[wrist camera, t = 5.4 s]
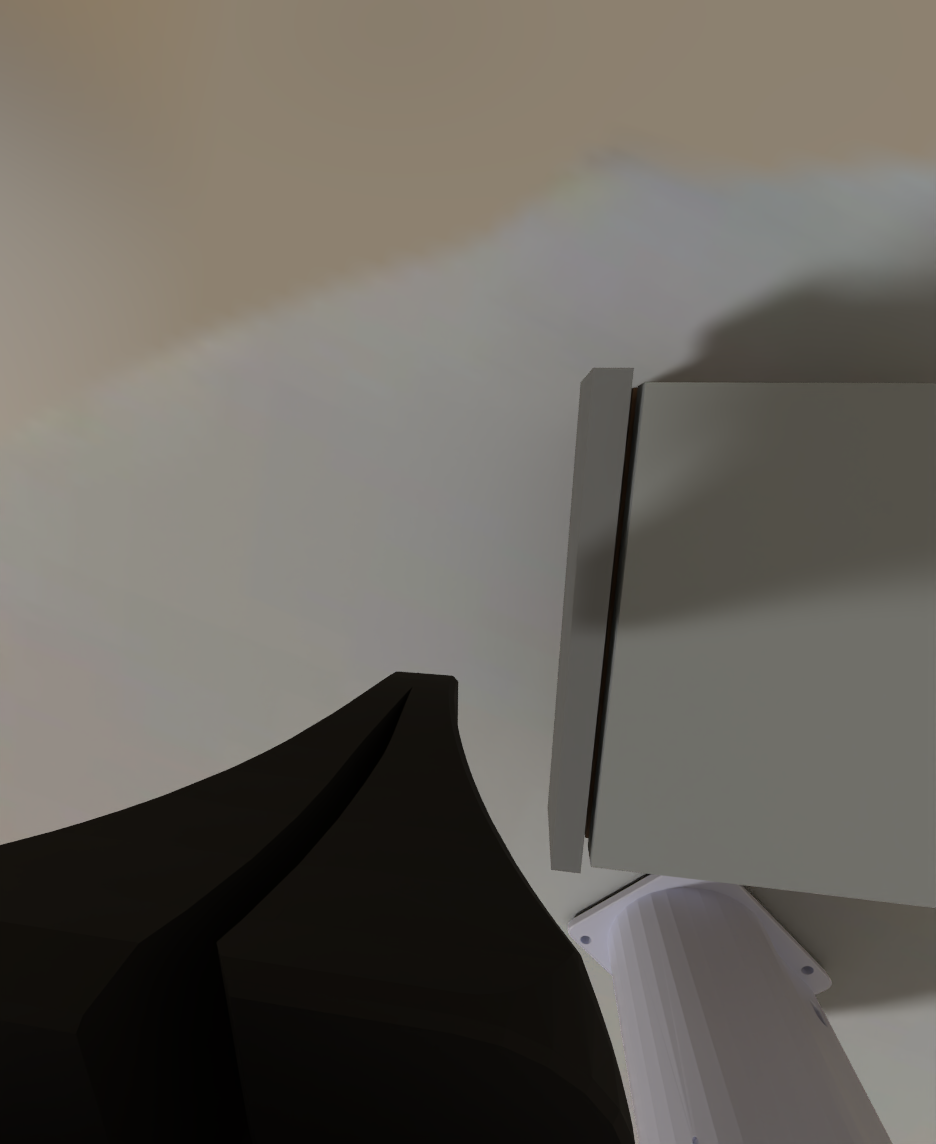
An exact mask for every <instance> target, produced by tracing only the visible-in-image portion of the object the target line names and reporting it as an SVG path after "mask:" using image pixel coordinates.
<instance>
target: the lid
mask: <svg viewBox="0 0 936 1144" xmlns="http://www.w3.org/2000/svg"><path fill="white" fill-rule="evenodd" d="M633 370H634V368H593V369H592V370H591V371H590V372H589V373H588V375H587V376H586V377H585V378H584V379H583V380H582V381H581V386H580V399H579V412H578V424H577V437H576V450H575V463H574V476H573V489H572V502H571V515H570V527H569V540H568V553H567V566H566V579H565V592H564V605H563V618H562V631H561V643H560V656H559V669H558V682H557V695H556V708H555V721H554V734H553V747H552V759H551V772H550V785H549V798H548V821H549V839H550V857H551V870H558V871H566V872H574V873H580V872H581V863H582V853H583V844H584V834H585V825H586V815H587V806H588V796H589V787H590V777H591V768H592V758H593V749H594V739H595V730H596V721H597V711H598V702H599V692H600V683H601V673H602V664H603V654H604V645H605V635H606V626H607V616H608V607H609V597H610V588H611V578H612V569H613V560H614V550H615V541H616V531H617V522H618V512H619V503H620V493H621V484H622V474H623V465H624V455H625V446H626V436H627V427H628V417H629V408H630V398H631V389H632V380H633ZM588 850H589V857H590V863H591V867H596V868H605V869H613V870H621V871H630V872H638V873H646V874H655V875H663V876H671V877H680V878H688V879H696V880H705V881H713V882H721V883H730V884H738V885H746V886H755V887H763V888H771V889H780V890H788V891H796V892H805V893H813V894H821V895H830V896H838V897H846V898H855V899H863V900H871V901H880V902H888V903H896V904H905V905H913V906H921V907H930V908H936V383H747V382H645V383H643V384H641V385H639V386H638V389H637V398H636V408H635V417H634V426H633V435H632V444H631V453H630V463H629V472H628V481H627V490H626V499H625V509H624V518H623V527H622V536H621V545H620V554H619V564H618V573H617V582H616V591H615V600H614V610H613V619H612V628H611V637H610V646H609V656H608V665H607V674H606V683H605V692H604V701H603V711H602V720H601V729H600V738H599V747H598V757H597V766H596V775H595V784H594V793H593V803H592V812H591V821H590V830H589V839H588Z"/></svg>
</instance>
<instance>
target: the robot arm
mask: <svg viewBox="0 0 936 1144" xmlns="http://www.w3.org/2000/svg"><path fill="white" fill-rule="evenodd" d="M568 932H569V935H570V936H571V938H573V939H574V940H575V941H576V942H577V943H578V944H579V945H580V946H581V947H582V948H583V949H584V950H585V951H586V952H587V953H588V954H589V955H590V956H592V957H593V958H594V959H595V960H596V961H597V962H598V963H599V964H600V965H601V966H602V967H603V968H604V969H605V970H606V971H607V972H608V973H610V974H611V975H612V977H613V984H614V990H615V996H616V1003H617V1009H618V1015H619V1021H620V1028H621V1034H622V1040H623V1047H624V1053H625V1059H626V1065H627V1072H628V1078H629V1084H630V1091H631V1097H632V1103H633V1109H634V1116H635V1122H636V1128H637V1135H638V1141H639V1144H892V1142H891V1140H890V1138H889V1136H888V1134H887V1132H886V1130H885V1128H884V1126H883V1124H882V1123H881V1121H880V1119H879V1117H878V1115H877V1113H876V1111H875V1109H874V1107H873V1105H872V1103H871V1101H870V1100H869V1098H868V1096H867V1094H866V1092H865V1090H864V1088H863V1086H862V1084H861V1082H860V1080H859V1078H858V1077H857V1075H856V1073H855V1071H854V1069H853V1067H852V1065H851V1063H850V1061H849V1059H848V1057H847V1055H846V1053H845V1052H844V1050H843V1048H842V1046H841V1044H840V1042H839V1040H838V1038H837V1036H836V1034H835V1032H834V1030H833V1029H832V1027H831V1025H830V1023H829V1021H828V1019H827V1017H826V1015H825V1013H824V1011H823V1009H822V1007H821V1006H820V1004H819V1002H818V1000H817V998H816V996H815V995H816V994H819V993H821V992H823V991H826V990H827V989H829V988H830V987H831V985H832V981H831V979H830V977H829V975H828V974H827V972H826V971H825V970H824V969H823V968H822V967H821V966H820V965H819V963H818V962H817V961H816V960H815V959H814V958H813V957H812V956H811V955H810V954H809V953H808V952H807V951H806V950H805V949H804V948H803V947H802V946H801V945H800V944H799V943H798V942H797V941H796V940H795V939H794V938H793V937H792V936H791V935H790V934H789V933H788V932H787V931H786V930H785V929H784V928H783V926H782V925H781V924H780V923H779V922H778V921H777V920H776V919H775V918H774V917H773V916H772V915H771V914H770V913H769V912H768V911H767V910H766V909H765V908H764V907H763V906H762V905H761V904H760V903H759V902H758V901H757V900H756V899H755V898H754V897H753V896H752V895H751V894H750V893H749V892H748V890H747V889H746V888H745V887H744V886H743V885H738V884H730V883H721V882H713V881H705V880H696V879H688V878H680V877H671V876H663V875H655V874H651V875H649V876H647V877H645V878H643V879H642V880H640V881H638V882H636V883H635V884H633V885H631V886H629V887H628V888H626V889H624V890H622V891H621V892H619V893H617V894H615V895H614V896H612V897H610V898H608V899H607V900H605V901H603V902H601V903H600V904H598V905H596V906H594V907H593V908H591V909H589V910H587V911H586V912H584V913H582V914H580V915H579V916H577V917H575V918H573V919H572V920H570V921H569V923H568ZM0 1144H635V1140H634V1133H633V1126H632V1122H631V1117H630V1112H629V1108H628V1104H627V1099H626V1095H625V1091H624V1087H623V1083H622V1079H621V1075H620V1071H619V1068H618V1064H617V1061H616V1057H615V1054H614V1050H613V1047H612V1043H611V1040H610V1037H609V1034H608V1031H607V1028H606V1025H605V1022H604V1019H603V1016H602V1013H601V1010H600V1007H599V1004H598V1001H597V998H596V996H595V993H594V990H593V987H592V985H591V982H590V979H589V976H588V974H587V971H586V968H585V965H584V963H583V960H582V957H581V955H580V953H579V952H578V951H577V949H576V948H575V947H574V946H573V944H572V943H571V942H570V940H569V939H568V938H567V936H566V935H565V934H564V932H563V931H562V930H561V929H560V927H559V926H558V925H557V923H556V922H555V920H554V919H553V918H552V916H551V915H550V914H549V912H548V911H547V909H546V908H545V907H544V905H543V904H542V902H541V901H540V900H539V898H538V897H537V895H536V894H535V892H534V891H533V889H532V888H531V886H530V885H529V883H528V881H527V880H526V878H525V877H524V875H523V874H522V872H521V871H520V869H519V868H518V866H517V865H516V863H515V861H514V859H513V858H512V856H511V854H510V852H509V850H508V849H507V847H506V845H505V843H504V842H503V840H502V838H501V836H500V834H499V833H498V831H497V829H496V827H495V826H494V824H493V822H492V820H491V818H490V816H489V814H488V812H487V810H486V807H485V805H484V803H483V801H482V799H481V797H480V794H479V792H478V789H477V787H476V785H475V782H474V780H473V777H472V774H471V772H470V769H469V766H468V763H467V760H466V756H465V753H464V750H463V747H462V743H461V739H460V735H459V730H458V681H457V680H456V679H455V677H454V676H448V675H435V674H422V673H409V672H395V673H393V674H391V675H390V676H388V677H387V678H385V679H384V680H382V681H381V682H379V683H378V684H376V685H375V686H373V687H372V688H370V689H369V690H367V691H366V692H365V693H363V694H362V695H360V696H359V697H357V698H356V699H354V700H353V701H351V702H350V703H348V704H347V705H345V706H344V707H342V708H340V709H339V710H337V711H336V712H334V713H333V714H331V715H329V716H328V717H326V718H324V719H323V720H321V721H319V722H318V723H316V724H314V725H313V726H311V727H309V728H308V729H306V730H304V731H303V732H301V733H299V734H298V735H296V736H294V737H293V738H291V739H289V740H287V741H285V742H283V743H282V744H280V745H278V746H276V747H274V748H272V749H270V750H268V751H266V752H264V753H262V754H260V755H258V756H256V757H254V758H252V759H250V760H247V761H245V762H243V763H241V764H239V765H237V766H235V767H233V768H230V769H228V770H226V771H223V772H221V773H218V774H216V775H213V776H211V777H208V778H206V779H204V780H201V781H199V782H196V783H194V784H191V785H189V786H186V787H184V788H181V789H179V790H176V791H174V792H171V793H169V794H166V795H164V796H161V797H158V798H155V799H152V800H150V801H147V802H144V803H141V804H138V805H135V806H132V807H129V808H127V809H124V810H121V811H117V812H114V813H111V814H108V815H105V816H102V817H99V818H95V819H92V820H89V821H86V822H83V823H80V824H76V825H73V826H69V827H66V828H63V829H59V830H56V831H52V832H49V833H45V834H41V835H37V836H33V837H30V838H26V839H22V840H18V841H14V842H11V843H7V844H3V845H0Z"/></svg>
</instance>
